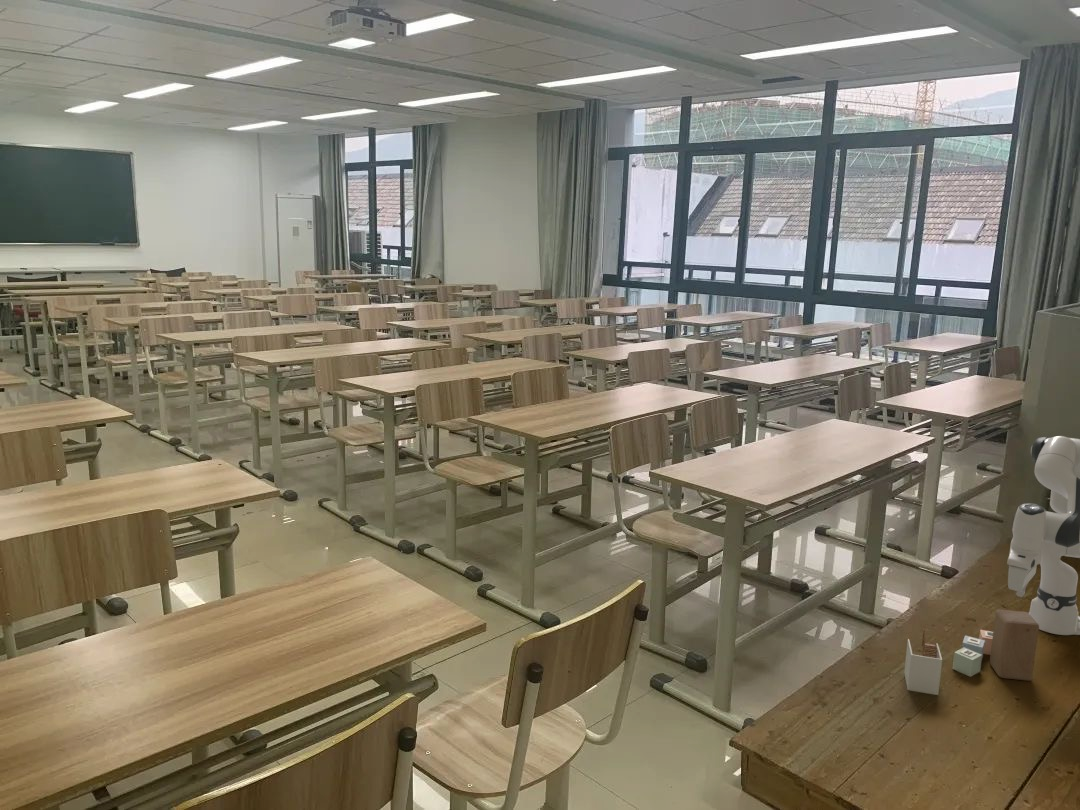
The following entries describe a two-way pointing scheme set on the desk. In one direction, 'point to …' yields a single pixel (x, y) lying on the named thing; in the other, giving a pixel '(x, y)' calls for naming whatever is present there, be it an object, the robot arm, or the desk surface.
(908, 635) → the desk surface
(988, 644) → the tile cube terracotta
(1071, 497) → the robot arm
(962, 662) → the tile cube sage
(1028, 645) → the wooden block
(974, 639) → the tile cube slate
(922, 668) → the tall white open bin
